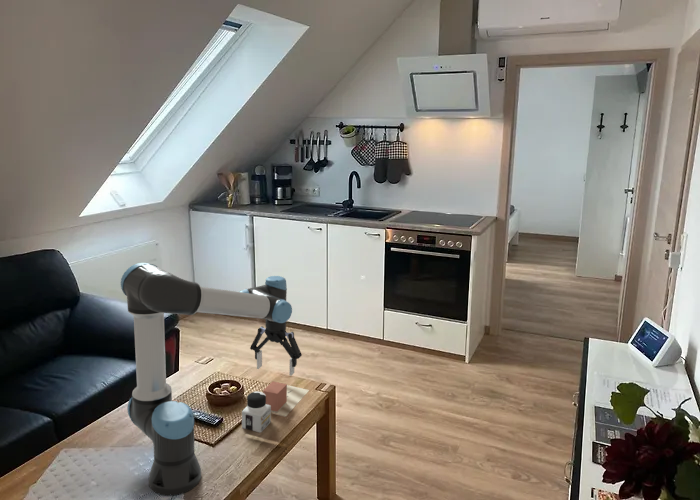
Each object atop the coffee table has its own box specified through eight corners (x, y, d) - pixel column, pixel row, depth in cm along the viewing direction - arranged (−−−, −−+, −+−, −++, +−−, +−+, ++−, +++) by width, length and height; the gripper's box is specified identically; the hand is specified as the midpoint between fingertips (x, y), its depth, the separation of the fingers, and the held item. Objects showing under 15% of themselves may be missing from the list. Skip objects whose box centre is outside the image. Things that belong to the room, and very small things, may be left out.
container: (260, 435, 188) (261, 401, 185) (241, 430, 191) (241, 397, 188) (271, 424, 195) (271, 391, 192) (252, 419, 198) (252, 387, 195)
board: (285, 419, 199) (285, 416, 199) (252, 411, 203) (252, 408, 203) (309, 392, 219) (309, 389, 219) (278, 385, 224) (278, 383, 223)
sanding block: (277, 413, 201) (277, 393, 199) (262, 409, 203) (262, 390, 201) (286, 402, 208) (286, 384, 206) (272, 399, 210) (272, 381, 208)
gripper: (311, 319, 196) (309, 372, 202) (250, 309, 204) (251, 360, 209) (302, 326, 190) (301, 381, 195) (240, 316, 197) (241, 368, 202)
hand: (275, 370), depth 202 cm, fingers open, 13 cm apart
